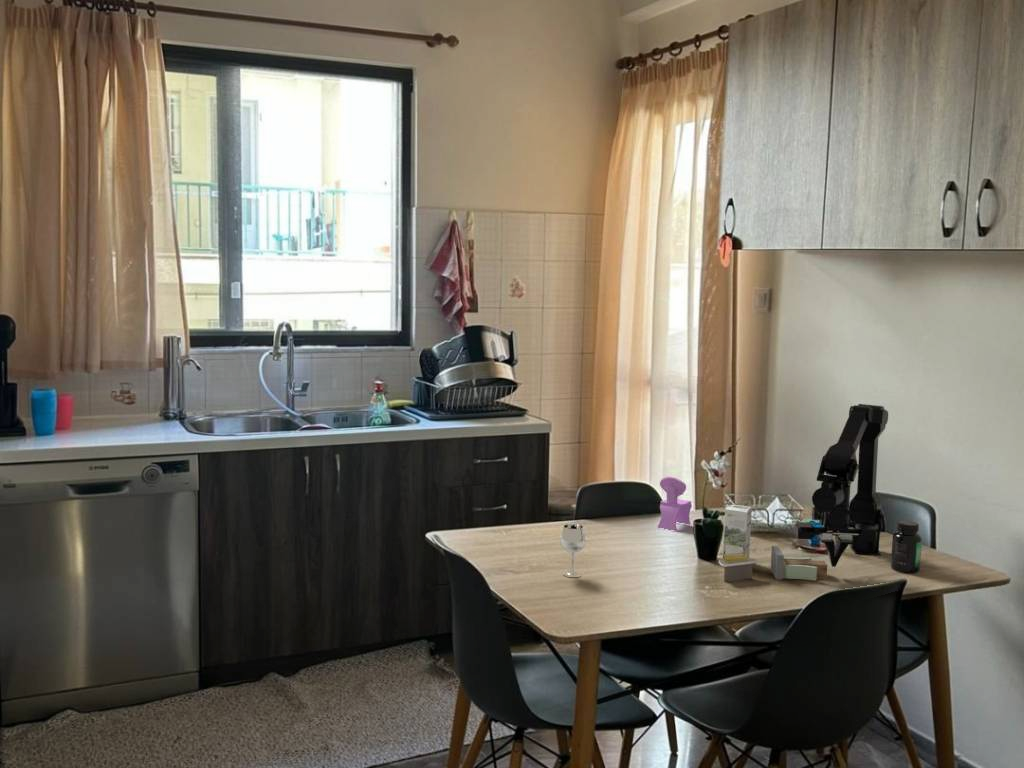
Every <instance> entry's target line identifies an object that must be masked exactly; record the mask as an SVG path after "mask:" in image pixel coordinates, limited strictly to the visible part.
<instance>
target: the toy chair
mask: <svg viewBox="0 0 1024 768" xmlns="http://www.w3.org/2000/svg"><path fill="white" fill-rule="evenodd" d="M659 486H660V488H661V489H662V490H663V491H664V492H665V493H666V499H664V500H661V501H660V504H659V509H660V520H659V523H658V524H657V527H658V528H657V527H656V528H657V529H660V528H664V529H663V530H665V529H668V530H667V531H670V530H674V531H673V532H675V531H677V532H678V529H677V524H676V522H679V523H685V524H689V525H691V521H690V511H691V509H692V500H685V499H680V498H678V497H679V496H681V495H683V494H684V493H685V491H686V489H687V484H686V483H685V482H684V481H682V480H681V479H679V478H677V477H675V476H674V477H673V476H664V477H663V478H661V479H660V481H659Z"/></svg>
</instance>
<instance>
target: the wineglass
mask: <svg viewBox="0 0 1024 768" xmlns="http://www.w3.org/2000/svg"><path fill="white" fill-rule="evenodd" d="M584 529H585V528H584V526H583V525H582V524H578V523H577V524H576V523H568V524H567V523H566V524H564V525H563V527H562V531H561V534H560V535H561V537H560V542H561V543H560V544H561V547H562V549H563V550H565V551H566V552H568V553H570V555H569V557H570V558H569V559H570V563H571V564H570V565H571V566H570V567H571V568H570V571H566V572H567V574H568V575H572V576H575V575H578V573H579V572H577V571H575V570H574V561H575V553H578V552H581V551H582V550H583V549H584V547H585V543H586V535H585V530H584ZM576 572H577V573H576Z"/></svg>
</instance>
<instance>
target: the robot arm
mask: <svg viewBox="0 0 1024 768" xmlns="http://www.w3.org/2000/svg"><path fill="white" fill-rule="evenodd" d="M888 420H889V411H888V410H887V409H885V407H884V406H883V405H874V404H873V405H872V404H867V403H866V404H863V403H858V404H857V405H855V404H854V405H851V406H850V407H849V411H848V417H847V419H846V422H845V424H844V427H843V429H842V432H841V433H840V435H839V438H838V440H837V442H836V443H834V444H832V445H831V446H829V448H828V449H827V450H826V452H825V454H824V455H823V456H822V459H821V462H820V464H819V465H820V466H819V469H818V473H817V476H816V481H817V482H821V484H820V487H819V488H817V489H816V490H814V492H813V494H812V496H811V501H812V504H813V507H812V508H811V520H812V521H818V523H819V525H820V526H814V524H813V523H811V522H803V521H802V522H801V521H799V522H798V521H797V522H796V523H795V524H794V526H793V527H794V528H793V533H794V535H795V537H796V538H797V539H799V540H813V539H814V538H815V537H816V536H817V538H818V539H819V541H820V543H822V544H824V546H825V548H826V551H827V555H828V559H829V562H830V563H829V564H830V566H831V567H834V568H836V566H837V565H838V563H839V561H840V559H841V557H842V555H843V553H844V552H845V550H846V549H847V547H848V546H849V548H850V549H851V550H852V551H853V553H855V554H856V555H857V554H858V555H881V551H880V550H879V549H880V535H881V533H885V532H886V531H887V530H886V529H887V520H886V517H885V513H884V510H883V509H882V508H883V507H882V505H883V503H882V500H881V498H880V496H879V495H878V493H877V491H876V490H877V474H878V473H877V471H878V469H877V468H878V451H879V450H878V449H879V448H878V447H879V438H880V436H881V435H882V434H883V432H884V431H885V429H886V427H887V426H886V425H887V424H888ZM857 450H858V460H857V455H856V453H857ZM856 476H857V485H856V486H857V487H856V489H857V490H856V491H857V492H856V494H854V496H853V498H852V499H850V498H851V485H852V483H853V482H855V479H856ZM833 536H834V539H835V541H834V539H833Z"/></svg>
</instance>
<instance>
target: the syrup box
mask: <svg viewBox="0 0 1024 768" xmlns="http://www.w3.org/2000/svg"><path fill="white" fill-rule="evenodd" d="M752 508H753V507H752V506H746V505H739V504H738V505H737V504H729V505H727V506H726V508H725V510H724V524H723V525H724V528H723V546H722V549H723V551H722V559H724V554H725V555H726V554H727V556H728V554H729V555H730V554H731V553H736V555H737V553H738V555H739V553H740V552H744V554H748V558H750V546H751V544H750V542H751V528H752V527H751V525H752V512H753V511H752V510H753V509H752ZM740 554H741V553H740Z"/></svg>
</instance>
